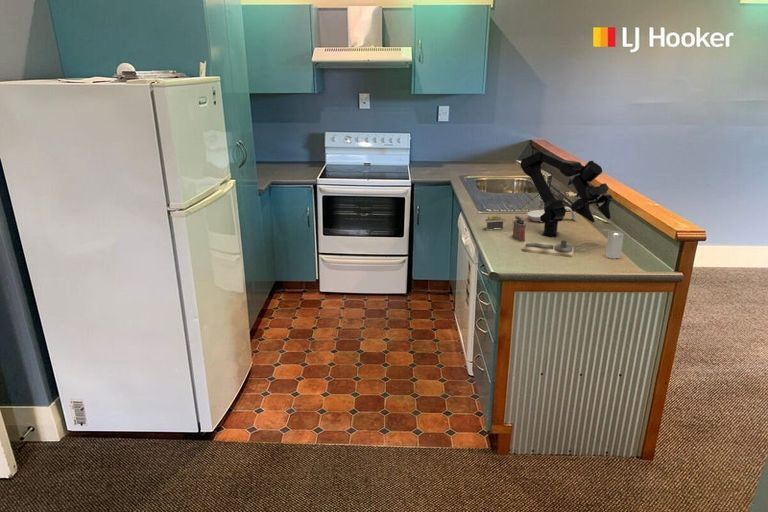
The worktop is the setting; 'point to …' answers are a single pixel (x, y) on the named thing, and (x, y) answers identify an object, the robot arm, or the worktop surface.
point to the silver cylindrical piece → (614, 244)
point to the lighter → (519, 229)
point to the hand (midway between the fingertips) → (601, 220)
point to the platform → (494, 222)
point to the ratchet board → (549, 248)
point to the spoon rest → (537, 213)
